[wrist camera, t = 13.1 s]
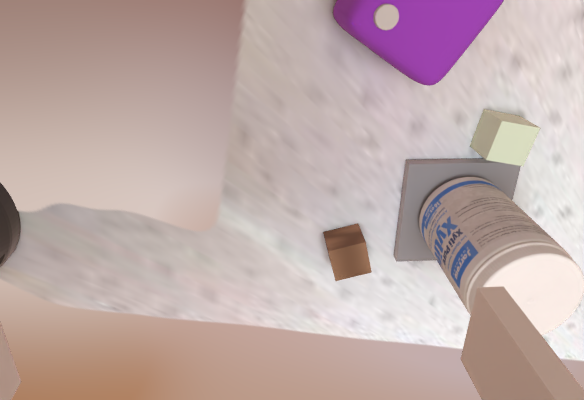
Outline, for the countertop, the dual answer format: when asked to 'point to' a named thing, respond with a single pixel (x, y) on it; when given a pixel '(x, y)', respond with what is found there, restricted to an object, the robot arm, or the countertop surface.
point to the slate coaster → (425, 180)
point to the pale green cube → (504, 137)
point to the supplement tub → (499, 251)
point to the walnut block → (347, 252)
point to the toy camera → (416, 31)
